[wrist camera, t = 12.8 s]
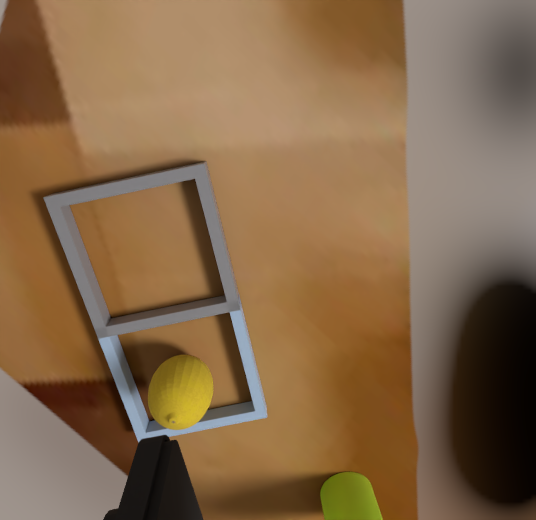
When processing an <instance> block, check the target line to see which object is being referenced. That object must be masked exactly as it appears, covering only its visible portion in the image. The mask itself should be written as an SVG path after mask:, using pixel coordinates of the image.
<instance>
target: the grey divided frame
mask: <svg viewBox="0 0 536 520" xmlns="http://www.w3.org/2000/svg"><path fill="white" fill-rule="evenodd" d="M191 179H195V181H196V184H197V188H198V192H199V196H200V200H201V204H202V208H203V211H204V215H205V219H206V223H207V227H208V231H209V235H210V238H211V242H212V246H213V250H214V254H215V258H216V262H217V266H218V269H219V273H220V277H221V281H222V285H223V289H224V293H225V295H224V296H219V297H214V298H209V299H204V300H199V301H194V302H190V303H185V304H180V305H175V306H170V307H165V308H160V309H155V310H150V311H145V312H140V313H136V314H131V315H126V316H121V317H116V318H111V317H110V314H109V311H108V309H107V306H106V303H105V301H104V298H103V295H102V293H101V290H100V287H99V284H98V282H97V279H96V276H95V274H94V271H93V268H92V266H91V263H90V260H89V257H88V255H87V252H86V249H85V247H84V244H83V241H82V238H81V236H80V233H79V230H78V228H77V225H76V222H75V220H74V217H73V214H72V211H71V209H70V206H69V205H72V204H77V203H82V202H87V201H91V200H96V199H101V198H106V197H110V196H115V195H120V194H125V193H129V192H134V191H139V190H144V189H148V188H153V187H158V186H163V185H167V184H172V183H177V182H182V181H186V180H191ZM43 198H44V201H45V203H46V206H47V208H48V211H49V213H50V216H51V219H52V221H53V224H54V226H55V229H56V231H57V234H58V237H59V239H60V242H61V244H62V247H63V249H64V252H65V255H66V257H67V260H68V262H69V265H70V267H71V270H72V272H73V275H74V278H75V280H76V283H77V285H78V288H79V290H80V293H81V296H82V298H83V301H84V303H85V306H86V308H87V311H88V314H89V316H90V319H91V321H92V324H93V326H94V329H95V332H96V334H97V337H98V339H99V342H100V344H101V347H102V350H103V352H104V355H105V357H106V360H107V362H108V365H109V368H110V370H111V373H112V375H113V378H114V380H115V383H116V385H117V388H118V391H119V393H120V396H121V398H122V401H123V403H124V406H125V409H126V411H127V414H128V416H129V419H130V421H131V424H132V427H133V429H134V432H135V434H136V437H137V439H138V442H139V441H140V440H141V439H144V438H150V437H155V436H161V435H167V436H168V437H170V436H175V435H180V434H185V433H190V432H196V431H201V430H206V429H211V428H216V427H221V426H226V425H231V424H236V423H241V422H246V421H252V420H257V419H262V418H267V406H266V402H265V398H264V394H263V390H262V386H261V382H260V378H259V374H258V370H257V366H256V362H255V358H254V354H253V349H252V345H251V341H250V337H249V333H248V329H247V325H246V321H245V317H244V313H243V309H242V305H241V301H240V297H239V293H238V289H237V284H236V280H235V276H234V272H233V268H232V264H231V260H230V256H229V252H228V248H227V244H226V240H225V236H224V232H223V228H222V224H221V220H220V215H219V211H218V207H217V203H216V199H215V195H214V191H213V187H212V183H211V179H210V175H209V171H208V167H207V163H206V161H205V162H200V163H195V164H191V165H186V166H181V167H176V168H172V169H167V170H162V171H157V172H153V173H148V174H143V175H138V176H134V177H129V178H124V179H119V180H115V181H110V182H105V183H101V184H96V185H91V186H86V187H82V188H77V189H72V190H67V191H63V192H58V193H53V194H50V195H48V196H45V197H43ZM228 312H230V316H231V320H232V323H233V327H234V331H235V335H236V339H237V343H238V347H239V351H240V354H241V358H242V362H243V366H244V370H245V374H246V378H247V381H248V385H249V389H250V393H251V397H252V401H250V402H245V403H240V404H235V405H230V406H225V407H220V408H215V409H210V410H207V411H206V413H205V414H204V416H203V417H202V418H201V420H199V421H198V422H197V423H196V424H195V425H193V426H191V427H189V428H186V429H183V430H171V429H168V428H165V427H163V426H162V425H160V424H159V423H158V422H157V421H156V420H154V421H149V419H148V417H147V414H146V411H145V409H144V406H143V403H142V401H141V398H140V395H139V392H138V390H137V387H136V384H135V382H134V379H133V376H132V374H131V371H130V368H129V365H128V363H127V360H126V357H125V355H124V352H123V349H122V347H121V344H120V341H119V338H118V336H117V335H120V334H125V333H129V332H134V331H139V330H144V329H149V328H154V327H159V326H164V325H169V324H174V323H179V322H184V321H189V320H194V319H199V318H204V317H208V316H213V315H218V314H223V313H228Z"/></svg>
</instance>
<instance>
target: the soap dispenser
mask: <svg viewBox="0 0 536 520" xmlns="http://www.w3.org/2000/svg"><path fill="white" fill-rule="evenodd" d="M320 498H321V503H322V508H323V513H324V519H325V520H383V519H382V516H381V513H380V510H379V507H378V504H377V501H376V498H375V495H374V492H373V489H372V486H371V483H370V481H369V480H368V479H367V478H366V477H365V476H363V475H361V474H359V473H355V472H343V473H339V474H336V475H334V476H332V477H330V478H329V479H328V480H326V482H325V483H324V484H323V486H322V488H321V491H320Z"/></svg>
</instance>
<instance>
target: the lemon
mask: <svg viewBox="0 0 536 520" xmlns="http://www.w3.org/2000/svg"><path fill="white" fill-rule="evenodd" d="M212 395H213V379H212V376H211V373H210V370H209V369H208V367H207V366H206V364H205V363H204V362H202V361H201V360H200V359H198V358H196V357H194V356H191V355H177V356H174V357H171V358H169V359H167V360H166V361H165V362H163V363H162V364H161V365H160V366H159V367H158V369H157V370H156V372H155V373H154V375H153V377H152V379H151V382H150V385H149V390H148V405H149V409H150V412H151V414H152V416H153V418H154V419H155V420H156V421H157V422H158V423H159V424H160V425H162V426H163V427H165V428H168V429H171V430H183V429H186V428H189V427H191V426H193V425H195V424H196V423H197V422H198V421H199V420H201V418H202V417H203V416H204V414H205V413H206V411H207V409H208V408H209V405H210V403H211V399H212Z"/></svg>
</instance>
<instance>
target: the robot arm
mask: <svg viewBox="0 0 536 520" xmlns="http://www.w3.org/2000/svg"><path fill="white" fill-rule="evenodd" d="M103 520H203V517H202V514H201V511H200V508H199V505H198V502H197V499H196V496H195V493H194V490H193V487H192V484H191V481H190V477H189V474H188V471H187V468H186V465H185V462H184V459H183V456H182V453H181V450H180V447H179V444H178V442H177V440H171V441H170V439H169V437H168V436H167V435H161V436H155V437H150V438H144V439H141V440H140V441H139V444H138V447H137V450H136V453H135V456H134V459H133V463H132V466H131V469H130V472H129V476H128V479H127V482H126V486H125V489H124V492H123V495H122V498H121V502H120V505H119V508H118V509H113V510H110V511H108V513H107V514H106V515H105V517H104V519H103Z"/></svg>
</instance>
